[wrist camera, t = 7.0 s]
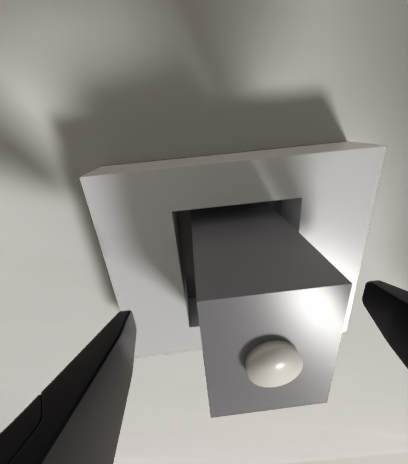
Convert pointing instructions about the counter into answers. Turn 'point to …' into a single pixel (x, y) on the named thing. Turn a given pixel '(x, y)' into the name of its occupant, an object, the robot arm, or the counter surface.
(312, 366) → the plug
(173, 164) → the socket
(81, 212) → the counter surface
